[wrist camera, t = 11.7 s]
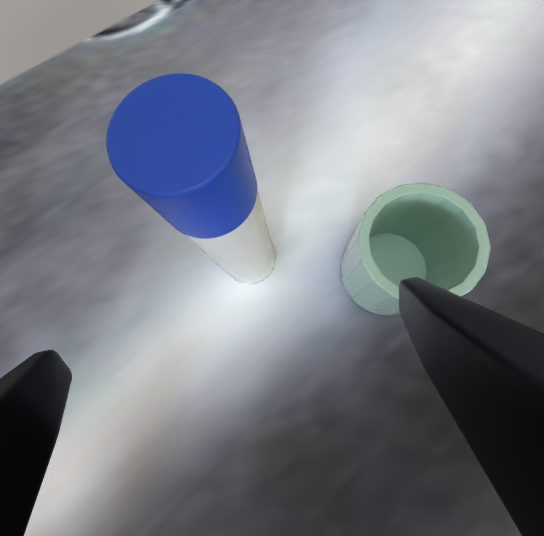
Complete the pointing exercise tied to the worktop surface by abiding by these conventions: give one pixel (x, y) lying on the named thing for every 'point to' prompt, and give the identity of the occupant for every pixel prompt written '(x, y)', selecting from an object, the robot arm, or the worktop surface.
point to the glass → (414, 246)
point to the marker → (194, 169)
